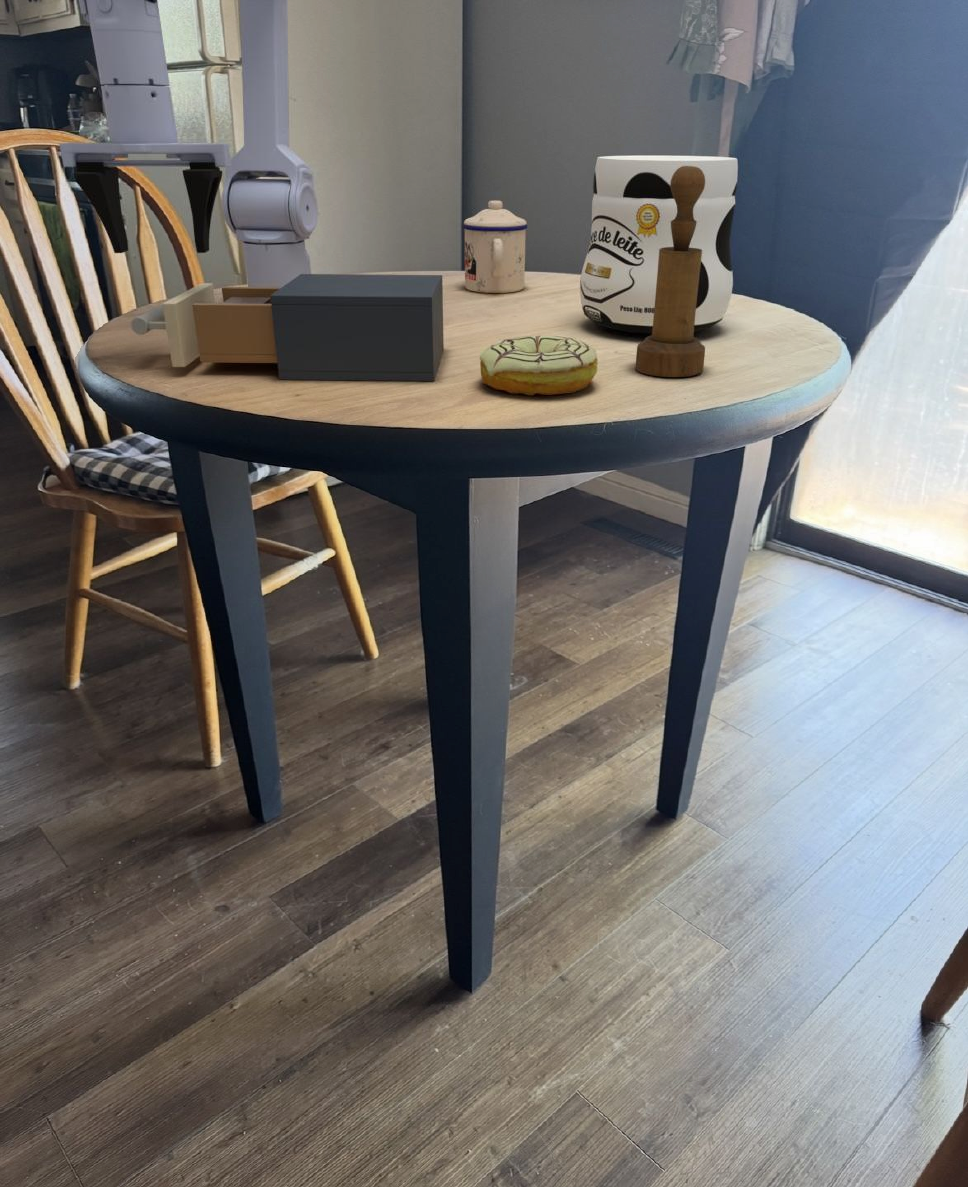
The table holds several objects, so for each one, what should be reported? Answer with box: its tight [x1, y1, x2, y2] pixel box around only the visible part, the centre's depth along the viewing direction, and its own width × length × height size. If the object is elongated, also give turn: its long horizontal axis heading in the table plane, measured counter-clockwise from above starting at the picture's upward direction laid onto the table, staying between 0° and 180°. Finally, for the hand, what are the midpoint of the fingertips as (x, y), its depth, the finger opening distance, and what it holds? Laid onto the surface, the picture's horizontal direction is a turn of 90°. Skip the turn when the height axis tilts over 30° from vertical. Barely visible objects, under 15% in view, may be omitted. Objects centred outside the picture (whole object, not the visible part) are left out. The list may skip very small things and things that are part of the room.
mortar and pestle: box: [635, 166, 706, 378], centre depth 82 cm, size 7×6×18 cm
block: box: [222, 297, 271, 304], centre depth 86 cm, size 4×4×4 cm
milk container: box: [579, 154, 739, 335], centre depth 99 cm, size 17×17×18 cm
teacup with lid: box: [462, 200, 528, 294], centre depth 123 cm, size 12×9×12 cm
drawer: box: [130, 282, 282, 368], centre depth 86 cm, size 18×11×6 cm, turn 88°
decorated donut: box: [479, 335, 599, 396], centre depth 80 cm, size 10×11×4 cm
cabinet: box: [270, 273, 445, 382], centre depth 86 cm, size 15×13×8 cm
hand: (162, 251), depth 83 cm, fingers open, 7 cm apart
